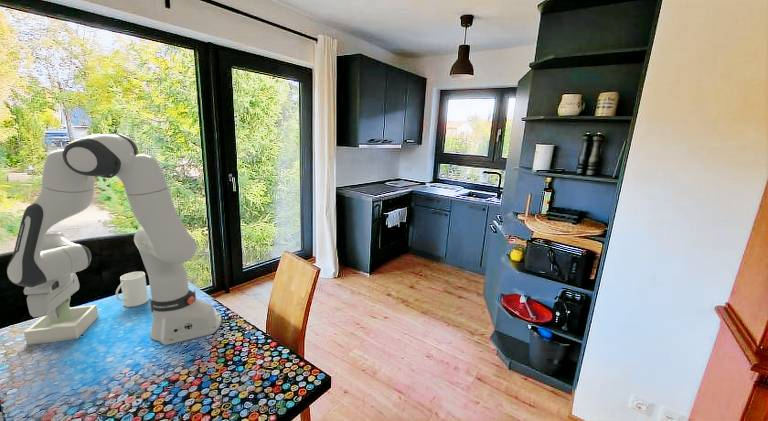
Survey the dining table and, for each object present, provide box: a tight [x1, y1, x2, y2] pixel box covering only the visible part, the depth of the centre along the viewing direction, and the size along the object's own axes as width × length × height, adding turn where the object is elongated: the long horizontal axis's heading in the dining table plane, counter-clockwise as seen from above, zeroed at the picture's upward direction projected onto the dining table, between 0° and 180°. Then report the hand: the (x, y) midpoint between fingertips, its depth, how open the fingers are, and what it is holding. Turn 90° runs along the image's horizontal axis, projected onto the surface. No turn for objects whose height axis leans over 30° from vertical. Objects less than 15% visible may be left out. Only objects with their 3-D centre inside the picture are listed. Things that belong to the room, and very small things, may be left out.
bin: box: [23, 304, 99, 346], centre depth 109 cm, size 13×14×5 cm
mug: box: [115, 271, 150, 308], centre depth 127 cm, size 12×8×12 cm
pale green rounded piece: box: [50, 301, 71, 324], centre depth 107 cm, size 5×5×6 cm
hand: (60, 314), depth 107 cm, fingers closed on pale green rounded piece, 5 cm apart
